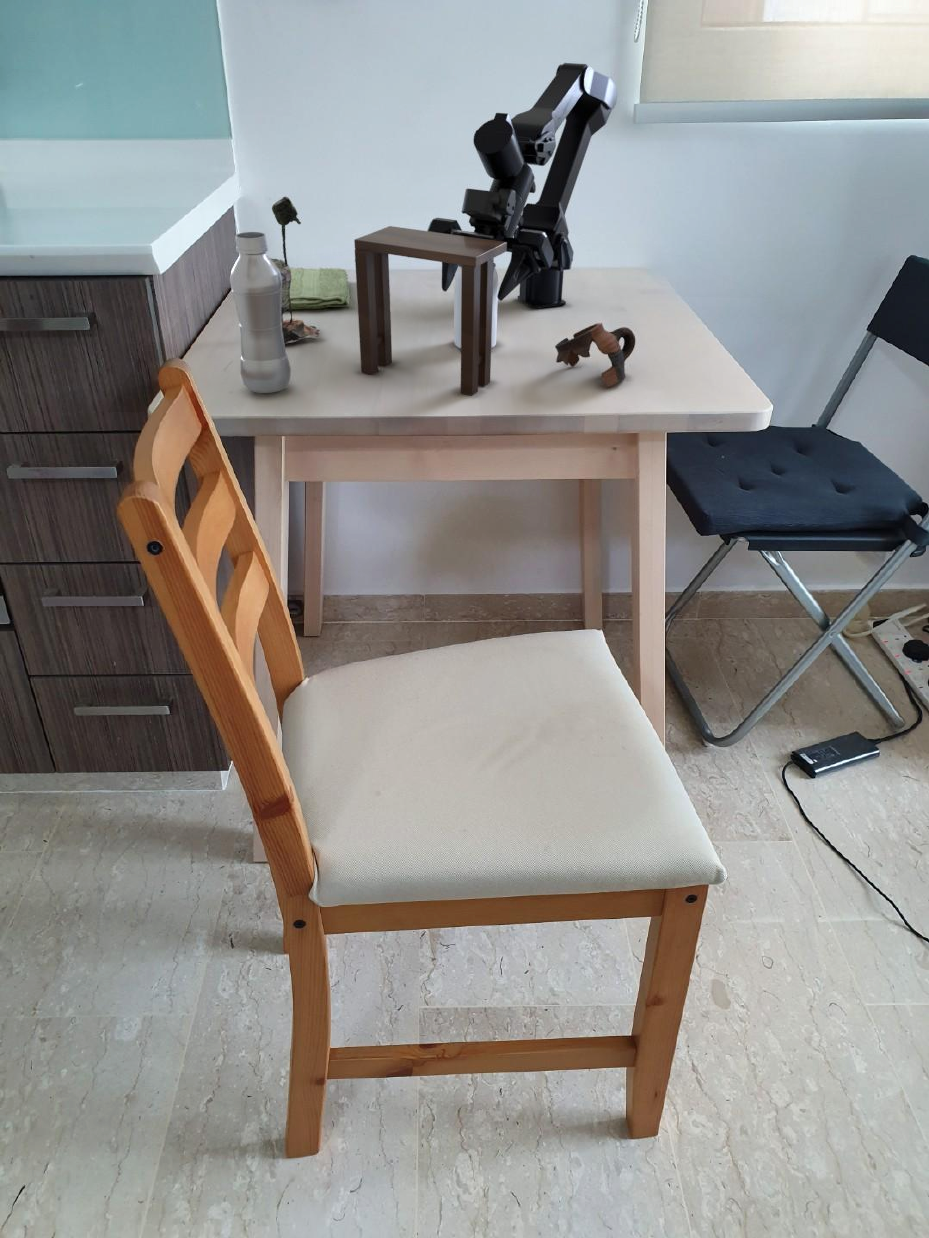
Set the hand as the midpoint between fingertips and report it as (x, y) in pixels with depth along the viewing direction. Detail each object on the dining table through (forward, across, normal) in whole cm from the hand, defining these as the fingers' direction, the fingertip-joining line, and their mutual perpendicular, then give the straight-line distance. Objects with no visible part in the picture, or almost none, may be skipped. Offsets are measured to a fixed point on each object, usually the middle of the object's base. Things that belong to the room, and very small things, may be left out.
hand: (471, 294), depth 136 cm
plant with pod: (+13, -27, -1) cm, 30 cm away
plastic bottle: (+26, -16, -14) cm, 34 cm away
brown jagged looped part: (+7, +21, +5) cm, 23 cm away
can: (+5, 0, +7) cm, 8 cm away
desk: (+14, 0, -3) cm, 14 cm away
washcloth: (-1, -36, +13) cm, 39 cm away
